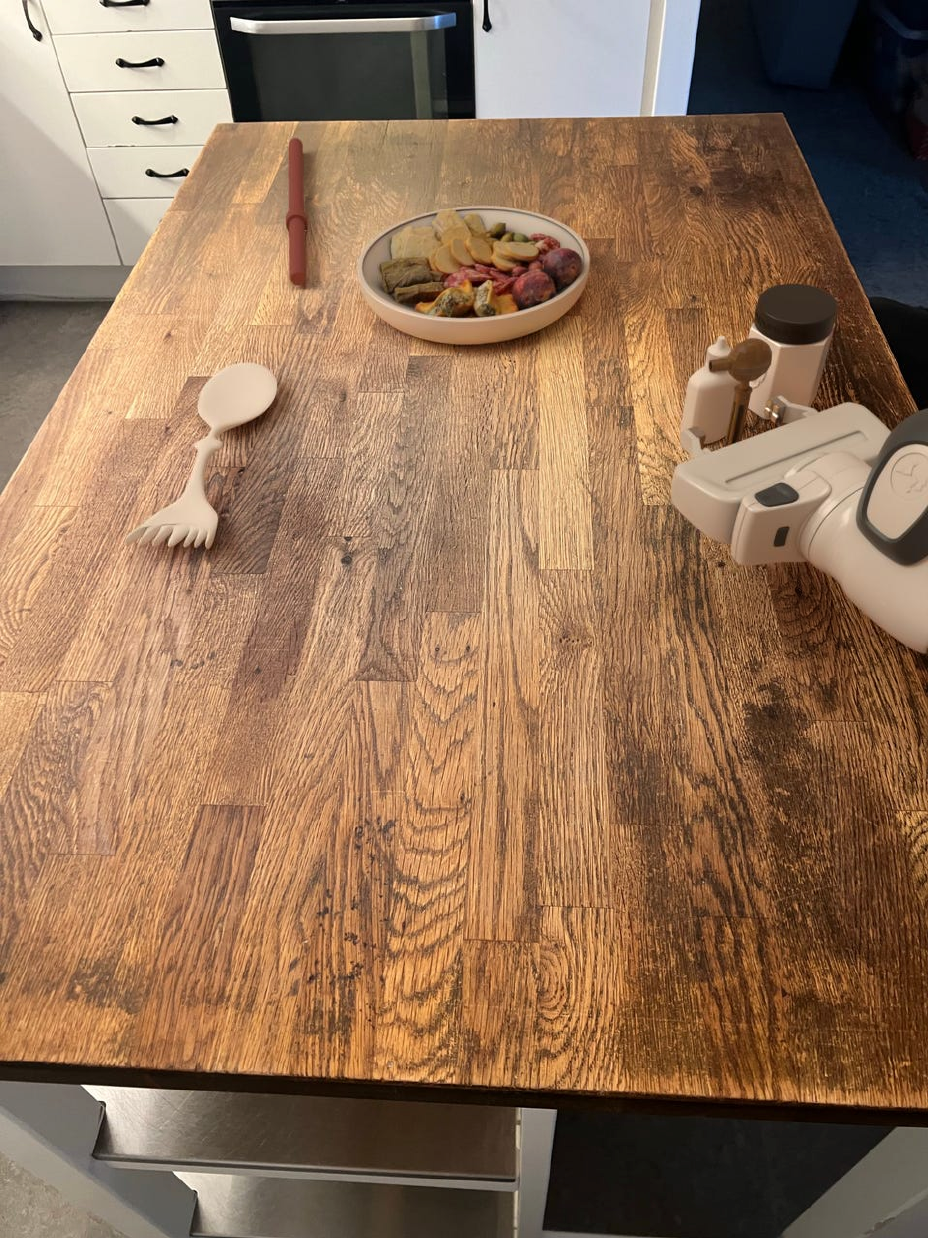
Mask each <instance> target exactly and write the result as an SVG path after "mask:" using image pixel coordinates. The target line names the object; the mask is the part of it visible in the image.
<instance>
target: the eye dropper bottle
mask: <svg viewBox="0 0 928 1238" xmlns="http://www.w3.org/2000/svg"><path fill="white" fill-rule="evenodd" d="M726 341H727V340H726V336H724V335H719V336H718V337H717V340H716V342H715V343H712V344H711V345H709V346H708V347H707V350H706V355H705V362H704V366H701V367H700V368H699V369H697V370H696V371H695V372H694V373H692V375H691V376H690V377H689V378H688V382H687V386H686V392H685V397H684V404H683V409H682V410H683V411H682V418H681V424H680V431H679V436H680V435H681V432H682V431H683V430H686V429H689V428H692V427H695V426H697V427H698V428H699V430H701V431H703V432H704V433H705V434H706V438H705V441H704V446H706V445H710V444H713V443H715V442H716V443H717V442H718V441H720V440H722V439H724V438H726V434H727V430H728V425H729V420H730V415H731V410H732V404H733V399H734V394H735V391H734V387H735V386H736V385H737V384H740V381H737V380H735V379H734V378H733V377H732V376H731V375H730V374H729V372H728V370H727V371H720V372H712V373H711V372H710V371H709V361H710V360H715V359H722V358H728V355H729V353H730V352H731V351H732V348H731V347H730V346H729V345H727V343H726Z"/></svg>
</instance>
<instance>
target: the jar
mask: <svg viewBox="0 0 928 1238" xmlns="http://www.w3.org/2000/svg"><path fill="white" fill-rule="evenodd" d="M756 303H757V304H756V305H755V309H754V317H753V322H752V324H751V326H750V327H749V332H748V338H747V339H750V338H758V339H761V340H763V341H764V342H766V343H767V344H768V345H769V346H770V348H771V351H772V361H771V365H770V367H769V369H768V370H767V372H766V373H765V374H763V375H762V376H761V377H759V378H758V379H757V380H754V381H750V383H749V385H750V386H751V387H752V389H753V391H752V393H751V396H750V401H749V406H748V410H750V411H751V412H753V413H754V414H756V415H757V416H758V417H760V418H761V419H762V420H765V421H766V420H771V419H770V418H767V417H766V416H765V414H764V409H765V407H766V401H767V400H770V399H772V398H775V397H778V396H783V397H784V398H785V399H786V400H788V401H789V402H790V403H791V404H792V403H794V404H798V405H802V406H806V407H810V408H812V404H814V403H813V402H814V401H815V398H816V396H817V393H818V390H819V387H820V382H821V379H822V375H823V372H824V368H825V364H826V360H827V356H828V353H829V349H830V345H831V341H832V337H833V333H834V331H835V327H836V319H837V314H838V311H839V304H838V302H837V300H836V299H835V297H834V296H833V295H832V294H831V293H829V292H828V291H826V290H824V289H822V288H819V287H817V286H813V285H809V284H804V283H782V284H777V285H773V286H770V287H768V288H767V289H765V290H764V291H763V292H761V294H760V295H759V296H758V298H757V302H756Z"/></svg>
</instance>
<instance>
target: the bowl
mask: <svg viewBox="0 0 928 1238" xmlns="http://www.w3.org/2000/svg"><path fill="white" fill-rule="evenodd" d="M590 256H591V255H590V252H589V248H588V246H587V244H586V242H585V241H584V239H583V238H582V237H581V236H580V234H578V233H577V232H576V231H575V230H573V229H572V228H571V227H569V226H568V225H566V224H565V223H563V222H562V221H559V220H557V219H555V218H552V217H550V216H547V215H545V214H543V213H538V212H535V211H532V210H526V209H522V208H516V207H507V206H496V205H468V206H457V207H448V208H443V209H437V210H433V211H429V212H424V213H421V214H417V215H415V216H411V217H409V218H405V219H404V220H401V221H399V222H397V223H395V224H393V225H391V226H389V227H387V228H386V229H383V230H382V231H381V232H379V233H378V234H377V235H376V236H374V237H373V238H372V239H371V240H370V241H369V242H368V243H367V244H366V245H365V247H364V248H363V249H362V251H361V253H360V254H359V257H358V260H357V262H356V263H357V264H356V273H357V274H356V275H357V280H358V286H359V288H360V292H361V294H362V296H363V298H364V300H365V302H366V303H367V305H368V306H369V308H370V309H371V310H372V311H373V312H374V313H375V314H376V315H377V316H378V317H379V318H380V319H381V320H382V321H383V322H385V323H386V324H388V325H389V326H390V327H392V328H394V329H396V330H397V331H400V332H402V333H404V334H407V335H409V336H413V337H415V338H418V339H422V340H425V341H429V342H434V343H441V344H446V345H447V344H448V345H465V346H466V345H485V344H495V343H500V342H506V341H510V340H514V339H518V338H521V337H525V336H527V335H530V334H533V333H535V332H538V331H539V330H542V329H544V328H546V327H548V326H550V325H551V324H553V323H554V322H556V321H557V320H559V319H560V318H562V317H563V316H564V315H565V314H566V313H567V312H569V311H570V309H571V308H572V307H573V306H574V305H575V304H576V303H577V302H578V300H579V298H580V297H581V296H582V294H583V292H584V290H585V288H586V285H587V283H588V279H589V274H590V273H589V272H590V267H591V265H590V264H591V257H590Z"/></svg>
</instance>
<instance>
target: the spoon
mask: <svg viewBox="0 0 928 1238" xmlns="http://www.w3.org/2000/svg"><path fill="white" fill-rule="evenodd" d="M277 391H278V382H277V378H276V376H275V373H273V371H272V370H270V368H269V367H266V366H264V365H262V364H259V363H255V362H237V363H233V364H230V365H227V366H225V367H223V368H221V369H220V370H218V371H217V372H216V373H214V374H213V375H212V376H211V377H210V378H209V379H208V380H207V381H206V383H205V384H204V385H203V386H202V389H201V391H200V393H199V396H198V401H197V412H198V415H199V416H200V417H201V419H202V420H203V421H204V422H205V424H207V425H208V426H209V427H210V431H209V432H208V435H207V436H206V437H204V438H203V439H199V440H198V441H196V442H195V444H194V449H195V450H196V451H198V453H197V456H196V459H195V462H194V465H193V468H192V471H191V474H190V476H189V480H188V483H187V486H186V488H185V490H184V492H183V494H182V495H181V496H180V497H179V498H178V499H177V500H175V501H174V502H173V503H171V504H169V505H168V506H165V507H164V508H162V509H160V510H158V511H157V512H155V513H154V514H152V515H151V516H150V517H149V518H148V519H146V520H145V521H144V522H143V523H142V524H141V525H139V526H138V527H136V528H135V529H133V530H131V531H130V532H129V533H128V534H126V536H125V540H124V544H125V546H126V547H130V546H131V545H133V544H134V543H135V542H136V541H137V540H139V539H140V538H141V539H140V540H139V545H140V546H141V547H142V546H144V545H146V544H147V543H149V542H150V541H151V540H153V541H152V544H151V545H152V547H153V548H154V547H157V546H158V545H160V544H161V543H162V542H163V541H165V540H166V539H167V538H169V539H168V541H167V542H168V543H167V546H168V547H169V548H172V547H174V546H176V545H177V544H179V543H180V542H181V541H183V539H185V540H184V541H183V548H184V549H185V548H187V547H189V546H190V545H191V544H192V543H193V542H194V543H193V544H194V548H195V549H196V548H198V547H199V546H200V545H201V544H203V542H204V540H205V543H204V545H205V546H204V547H205V548H206V550H209V549H210V548H211V547H212V545H213V543H214V540H215V537H216V533H217V527H218V523H219V522H218V521H219V516H218V513H217V512H216V510H215V509H214V508H213V506H212V505H211V504H210V502H209V500H208V499H207V496H206V491H205V476H206V469H207V466H208V463H209V462H210V459H211V457H212V456H213V455H214V454H215V453H216V452H218V451H221V450H222V449H223V446H224V443H223V442H222V441H221V440H219V439H218V438H219V437H220V436H221V435H222V434H223V433H225V432H226V431H229V430H232V429H234V428H236V427H239V426H241V425H245V424H246V423H248V422H250V421H253V420H254V419H256V418H258V417H260V416H261V415H262V414H264V413H265V411H267V409H268V408H269V407H270V406H271V404H272V403H273V401H274V399H275V397H276V395H277Z"/></svg>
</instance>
